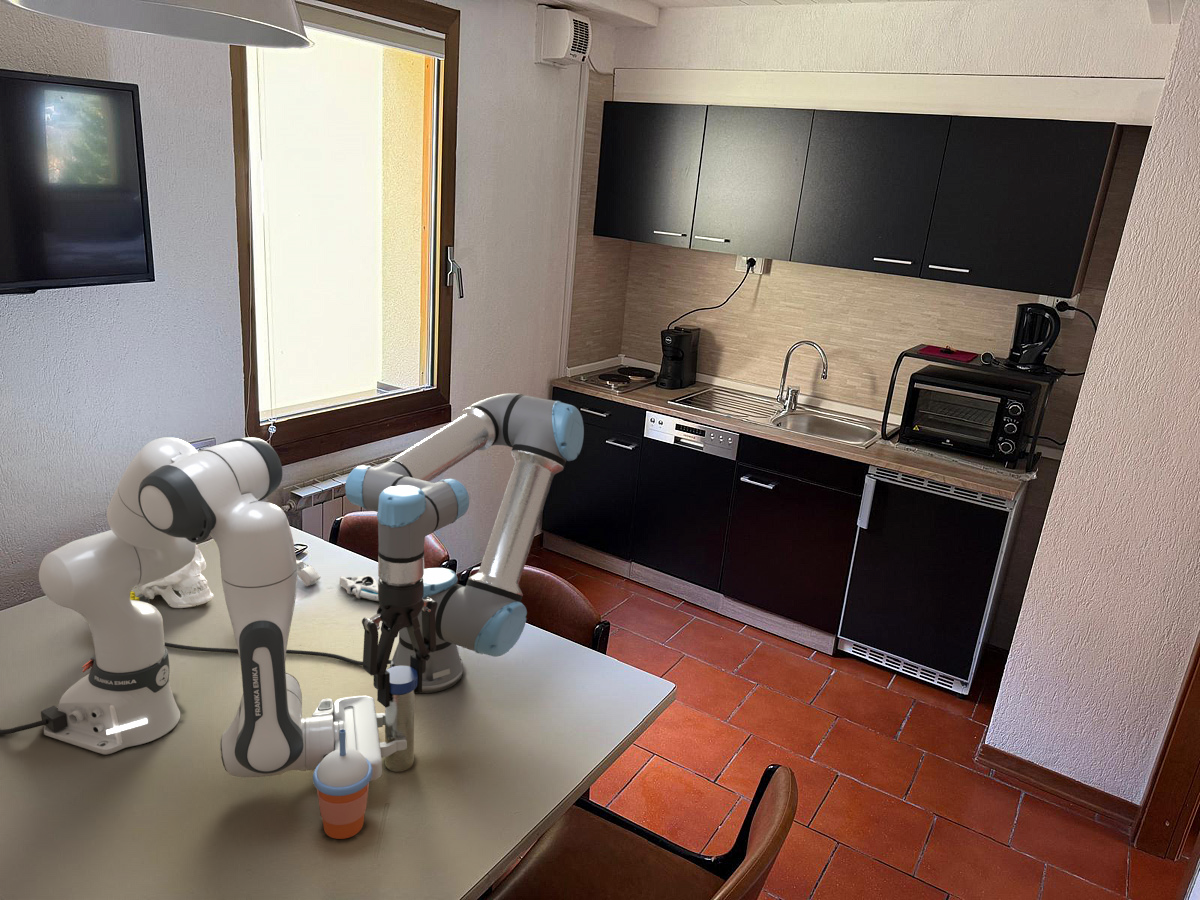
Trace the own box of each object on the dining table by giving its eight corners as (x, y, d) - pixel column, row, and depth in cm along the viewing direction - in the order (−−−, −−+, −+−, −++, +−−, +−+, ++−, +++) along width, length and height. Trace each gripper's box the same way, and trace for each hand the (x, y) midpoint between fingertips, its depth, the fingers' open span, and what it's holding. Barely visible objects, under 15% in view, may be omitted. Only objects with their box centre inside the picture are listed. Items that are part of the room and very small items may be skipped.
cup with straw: (356, 851, 133) (355, 754, 128) (303, 839, 135) (300, 742, 130) (382, 812, 142) (382, 719, 137) (331, 801, 143) (330, 709, 138)
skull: (192, 617, 196) (189, 553, 192) (115, 598, 202) (111, 536, 198) (232, 595, 209) (230, 534, 205) (158, 577, 214) (155, 518, 210)
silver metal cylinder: (418, 766, 154) (419, 681, 149) (391, 775, 151) (392, 688, 146) (406, 750, 158) (407, 667, 153) (380, 759, 155) (380, 674, 150)
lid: (401, 671, 154) (401, 661, 153) (424, 684, 150) (425, 674, 150) (374, 685, 149) (374, 675, 148) (398, 699, 146) (398, 688, 145)
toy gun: (412, 588, 214) (383, 600, 205) (411, 597, 215) (383, 610, 206) (358, 568, 223) (329, 579, 214) (358, 577, 223) (328, 588, 215)
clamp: (253, 565, 223) (254, 542, 221) (265, 560, 226) (266, 537, 224) (309, 593, 215) (310, 569, 213) (320, 588, 218) (321, 564, 216)
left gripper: (324, 764, 138) (411, 752, 143) (322, 693, 157) (399, 685, 161) (325, 796, 140) (410, 784, 144) (322, 722, 159) (399, 713, 163)
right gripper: (435, 555, 153) (432, 669, 159) (338, 583, 139) (340, 706, 146) (460, 570, 148) (456, 687, 154) (362, 601, 135) (363, 727, 141)
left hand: (404, 731), depth 153 cm, fingers closed on silver metal cylinder, 5 cm apart
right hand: (399, 696), depth 150 cm, fingers closed on lid, 6 cm apart
